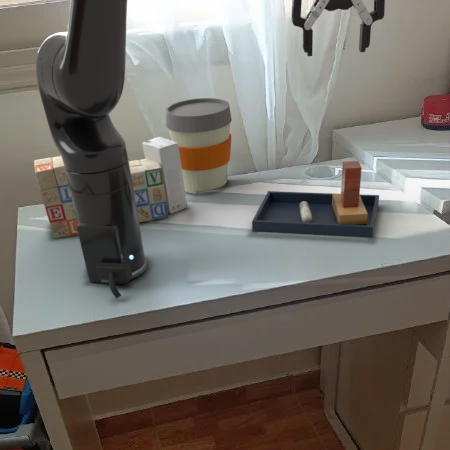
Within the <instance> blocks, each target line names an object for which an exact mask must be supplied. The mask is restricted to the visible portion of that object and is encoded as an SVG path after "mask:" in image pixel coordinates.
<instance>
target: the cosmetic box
mask: <svg viewBox="0 0 450 450" xmlns="http://www.w3.org/2000/svg"><path fill="white" fill-rule="evenodd" d="M141 145H142V150H143V156H144V159H147V158H148V159H150V160H153V161H155V162H158V163H159V165H160V167H161V170H162V176H163V183H164V188H165V195H166V203H167V210H168V214H174V213H177V212H179V211H182V210H184V209H187V208H188V201H187V195H186V191H185V187H184V180H183V174H182V167H181V160H180V154H179V147H178V143H176V142H173V141H170V139H167V138H165V137H162V136H157V137H154V138H151V139H148V140H146V141H145V140H144V141H142V143H141Z"/></svg>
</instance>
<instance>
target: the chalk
mask: <svg viewBox="0 0 450 450" xmlns="http://www.w3.org/2000/svg"><path fill="white" fill-rule="evenodd" d="M299 209H300V214H301V218H302V221H303V222H305V223H310V222H311V221H312V215H311V211H310V207H309V204H308V202H306V201H303V202H301V203H300V205H299Z"/></svg>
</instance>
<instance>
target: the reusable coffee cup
mask: <svg viewBox="0 0 450 450" xmlns="http://www.w3.org/2000/svg"><path fill="white" fill-rule="evenodd" d="M232 119H233V118H232V113H231V108H230V103H229V101H227V100H225V99H222V98H215V97H198V98H189V99H183V100H180V101H177V102H174V103H171V104H169V105H168V106H167V107H166V108H165V126H166V128H167V129H168V133H169V137H170V139H169V140H170V141H173V142H176V143H178V147H179V154H180V160H181V167H182V174H183V180H184V187H185V193H189V194H191V195H196V194H197V192H205V191H213V190H216V189H219V188H222V187H223V186H225V185H226V183H227V182H228V167H229V163H230V160H231V152H232V151H231V149H232V134H231V133H230V130H231V123H232Z"/></svg>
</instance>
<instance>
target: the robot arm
mask: <svg viewBox="0 0 450 450" xmlns="http://www.w3.org/2000/svg"><path fill="white" fill-rule="evenodd" d="M302 1H303V0H292V3H291V19H290V20H291V23H292V24H293V26H294V27H297V28H300V29H302V49H303V52H304V53H305V54H306V56H307V57H313V47H314V45H313V44H314V43H313V42H314V41H313V38H314V36H313V35H314V30H313V29H312V28H313V26H314V25H315V23H316V21H317V20H318V18H320V16H321V15H322V14H323V12H324V10H326V11H327V12H334V11H337V10H342V11H347V10H349V9H351V8H352V7H353V9H354V10H355V12H356V14H357V15H358V16H359V18H360V20H361V23H360V24H359V39H358V40H359V41H358V52H359V53H366V49H368V48H369V47H370V44H371V33H372V32H371V31H372V25H373V24H374V23H375V22H377V21H379V20H383V19H384V17H385V9H386V0H373V10H371V11H370V12H369V11H368V9H367V7H366V6H365V4H364V2H363V0H314V1H313V4H312V5H311V7H310V9H309V10H308V13H307V14H306V16H305V17H302V5H303V2H302ZM69 5H70V7H69V14H68V15H69V16H68V24H67V31H62V32H56V33H54V34H51V35H49V36H48V37H47V38H46V39H45V40H44V41H43V42H42V43H41V45H40V47H39V49H38V51H37V54H36V59H35V77H36V82H37V88H38V92H39V97H40V100H41V103H42V107H43V111H44V115H45V118H46V122H47V125H48V129H49V132H50V135H51V138H52V141H53V143H54V145H55V147H56V149H57V151H58V153H59V156H61V157H62V160H63V164H64V167H65V172H66V176H67V180H68V184H69V189H70V193H71V197H72V201H73V206H74V210H75V214H76V218H77V222H78V225H77V232H78V234H77V235H78V240H79V244H80V248H81V252H82V256H83V260H84V264H85V269H86V272H87V277H88V281H89V283H97V284H98V283H99V284H108V286H109V290H110V291H111V293H112V295H113V296H114V297H115V299H118V298H120V297H122V294H121V292H120V291H119V290H118V288H117V286H116V285H126V284H127V283H128V282H129V281H131V280H134V279H136V278H138V277H141V275H142V274H144V272H145V271H146V270H147V268H148V263H147V257H146V255H145V250H144V249H145V248H144V243H143V237H142V232H141V231H142V230H141V225H140V222H139V219H138V213H137V207H136V201H135V196H134V190H133V184H132V177H131V171H130V166H129V161H130V160H129V156H128V154H129V153H128V148H127V144H126V141H125V139H124V137H123V136H122V134H121V133H120V132H119V131H118V129H117V127H116V125H115V124H114V122H113V120H112V119H111V116H110V113H112V112H113V111H114V109H115V108H116V107H117V105H118V104H119V102H120V100H121V97H122V95H123V91H124V85H125V80H126V63H127V62H126V60H127V59H126V58H127V16H128V15H127V14H128V0H70V4H69Z"/></svg>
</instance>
